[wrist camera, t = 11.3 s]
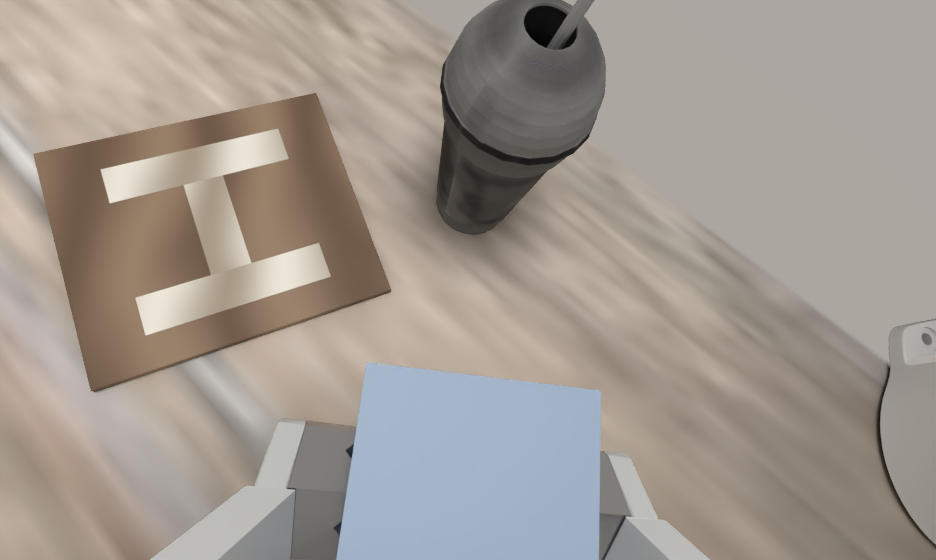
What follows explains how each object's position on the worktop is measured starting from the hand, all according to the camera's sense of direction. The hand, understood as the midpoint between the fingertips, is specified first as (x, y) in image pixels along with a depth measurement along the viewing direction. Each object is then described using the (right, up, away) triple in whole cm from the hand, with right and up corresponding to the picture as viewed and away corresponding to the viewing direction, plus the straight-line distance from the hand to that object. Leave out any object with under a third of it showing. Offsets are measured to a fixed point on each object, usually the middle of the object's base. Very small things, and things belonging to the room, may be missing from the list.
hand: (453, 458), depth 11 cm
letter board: (-14, +7, +20) cm, 25 cm away
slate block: (-1, -2, +5) cm, 5 cm away
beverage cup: (0, +9, +24) cm, 25 cm away
